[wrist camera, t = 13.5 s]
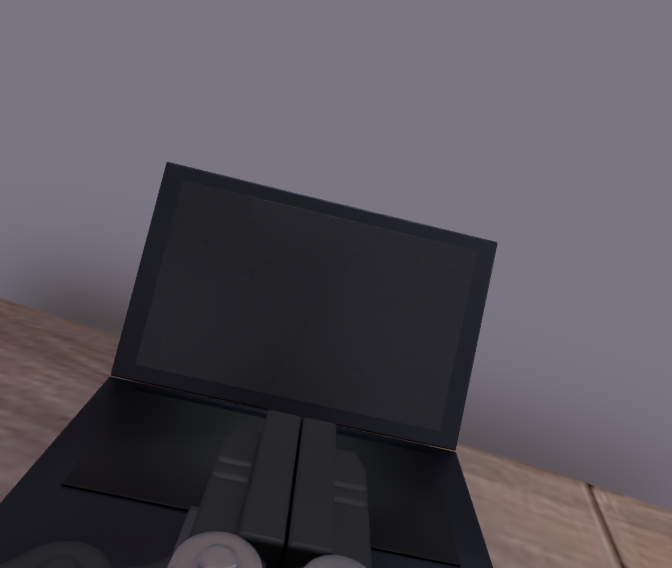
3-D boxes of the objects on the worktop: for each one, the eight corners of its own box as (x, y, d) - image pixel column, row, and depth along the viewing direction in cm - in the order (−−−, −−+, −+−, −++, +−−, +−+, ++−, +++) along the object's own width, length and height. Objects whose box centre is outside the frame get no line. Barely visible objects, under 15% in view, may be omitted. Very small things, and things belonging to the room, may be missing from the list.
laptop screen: (498, 241, 25) (493, 243, 26) (165, 160, 24) (169, 164, 25) (456, 451, 25) (451, 448, 25) (109, 375, 24) (114, 374, 24)
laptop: (505, 712, 16) (527, 666, 15) (-50, 607, 15) (-49, 554, 14) (444, 483, 25) (457, 449, 25) (105, 410, 24) (109, 373, 24)
